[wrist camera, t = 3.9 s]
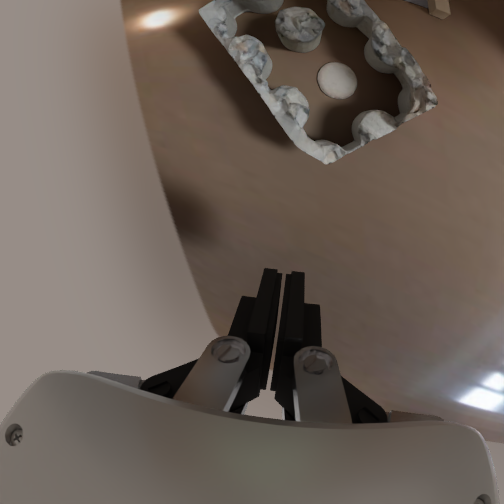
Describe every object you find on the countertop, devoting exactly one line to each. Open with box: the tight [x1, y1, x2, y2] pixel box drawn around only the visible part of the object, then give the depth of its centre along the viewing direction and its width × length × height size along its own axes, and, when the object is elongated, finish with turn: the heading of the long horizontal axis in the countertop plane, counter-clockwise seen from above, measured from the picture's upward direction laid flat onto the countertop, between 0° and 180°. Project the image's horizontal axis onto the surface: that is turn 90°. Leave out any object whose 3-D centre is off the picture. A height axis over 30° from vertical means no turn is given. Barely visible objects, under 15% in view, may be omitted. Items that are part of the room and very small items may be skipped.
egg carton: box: [199, 0, 438, 164], centre depth 10 cm, size 11×8×4 cm
